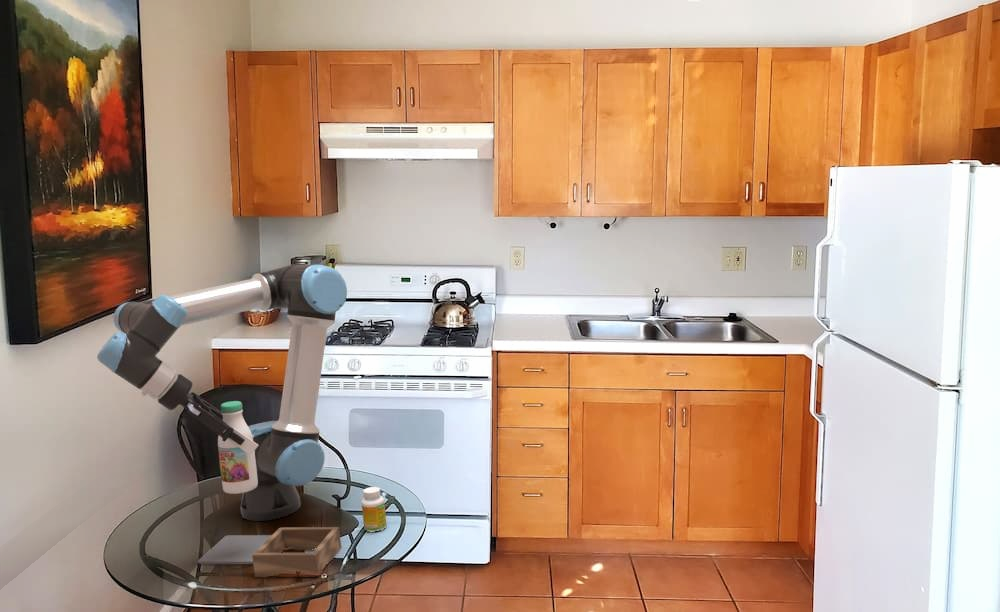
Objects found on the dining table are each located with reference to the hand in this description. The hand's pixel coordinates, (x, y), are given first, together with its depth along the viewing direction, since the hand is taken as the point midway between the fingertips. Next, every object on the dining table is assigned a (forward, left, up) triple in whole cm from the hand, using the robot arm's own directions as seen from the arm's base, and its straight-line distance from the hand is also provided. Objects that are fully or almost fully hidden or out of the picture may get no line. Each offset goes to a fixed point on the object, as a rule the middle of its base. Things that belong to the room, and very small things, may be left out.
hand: (252, 445), depth 192 cm
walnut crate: (+6, +11, -25) cm, 28 cm away
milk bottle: (+2, -3, -10) cm, 10 cm away
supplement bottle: (-12, +23, -25) cm, 36 cm away
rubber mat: (0, -6, -25) cm, 26 cm away
